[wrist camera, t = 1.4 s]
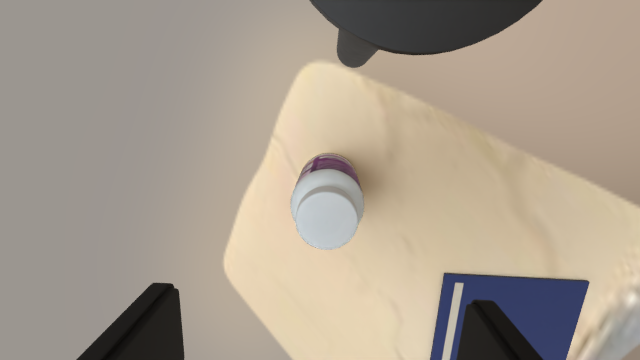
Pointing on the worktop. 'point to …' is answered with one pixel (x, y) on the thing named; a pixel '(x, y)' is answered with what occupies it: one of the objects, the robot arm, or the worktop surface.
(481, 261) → the worktop surface
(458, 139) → the worktop surface
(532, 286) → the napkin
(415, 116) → the worktop surface
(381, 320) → the worktop surface
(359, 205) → the pill bottle
